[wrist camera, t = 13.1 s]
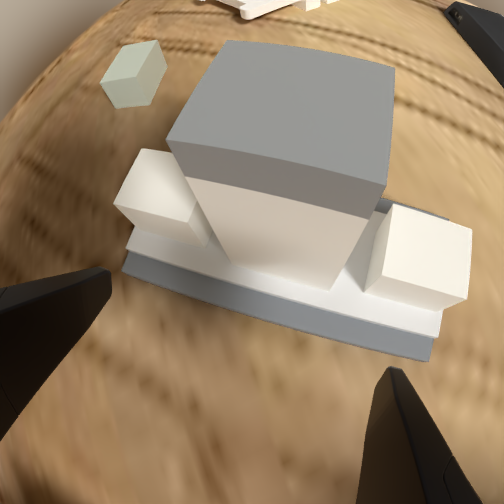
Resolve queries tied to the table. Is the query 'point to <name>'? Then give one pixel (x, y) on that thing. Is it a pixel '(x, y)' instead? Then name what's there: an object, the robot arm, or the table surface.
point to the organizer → (270, 5)
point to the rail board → (293, 294)
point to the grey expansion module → (287, 155)
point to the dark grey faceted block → (481, 34)
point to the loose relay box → (134, 75)
